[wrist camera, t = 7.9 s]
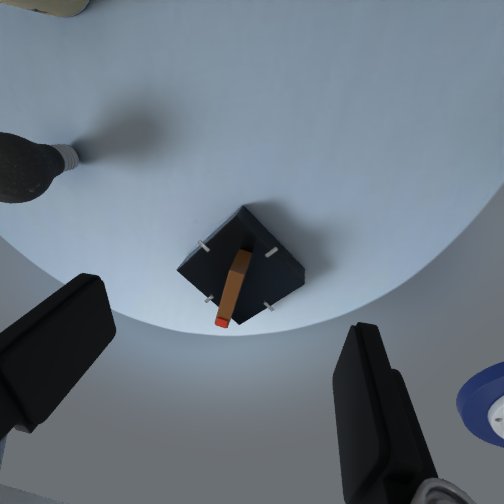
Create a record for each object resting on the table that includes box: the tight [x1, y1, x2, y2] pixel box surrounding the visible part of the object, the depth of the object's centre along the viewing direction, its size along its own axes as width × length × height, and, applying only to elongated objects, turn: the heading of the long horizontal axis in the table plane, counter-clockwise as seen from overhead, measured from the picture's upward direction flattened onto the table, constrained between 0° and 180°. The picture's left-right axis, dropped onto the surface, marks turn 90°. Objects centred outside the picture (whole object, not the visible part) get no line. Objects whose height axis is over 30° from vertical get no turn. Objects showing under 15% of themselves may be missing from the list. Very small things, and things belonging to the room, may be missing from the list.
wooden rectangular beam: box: [215, 249, 252, 328], centre depth 26 cm, size 7×1×4 cm, turn 165°
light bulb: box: [0, 132, 79, 203], centre depth 23 cm, size 6×6×10 cm
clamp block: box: [177, 205, 305, 325], centre depth 29 cm, size 11×11×3 cm
